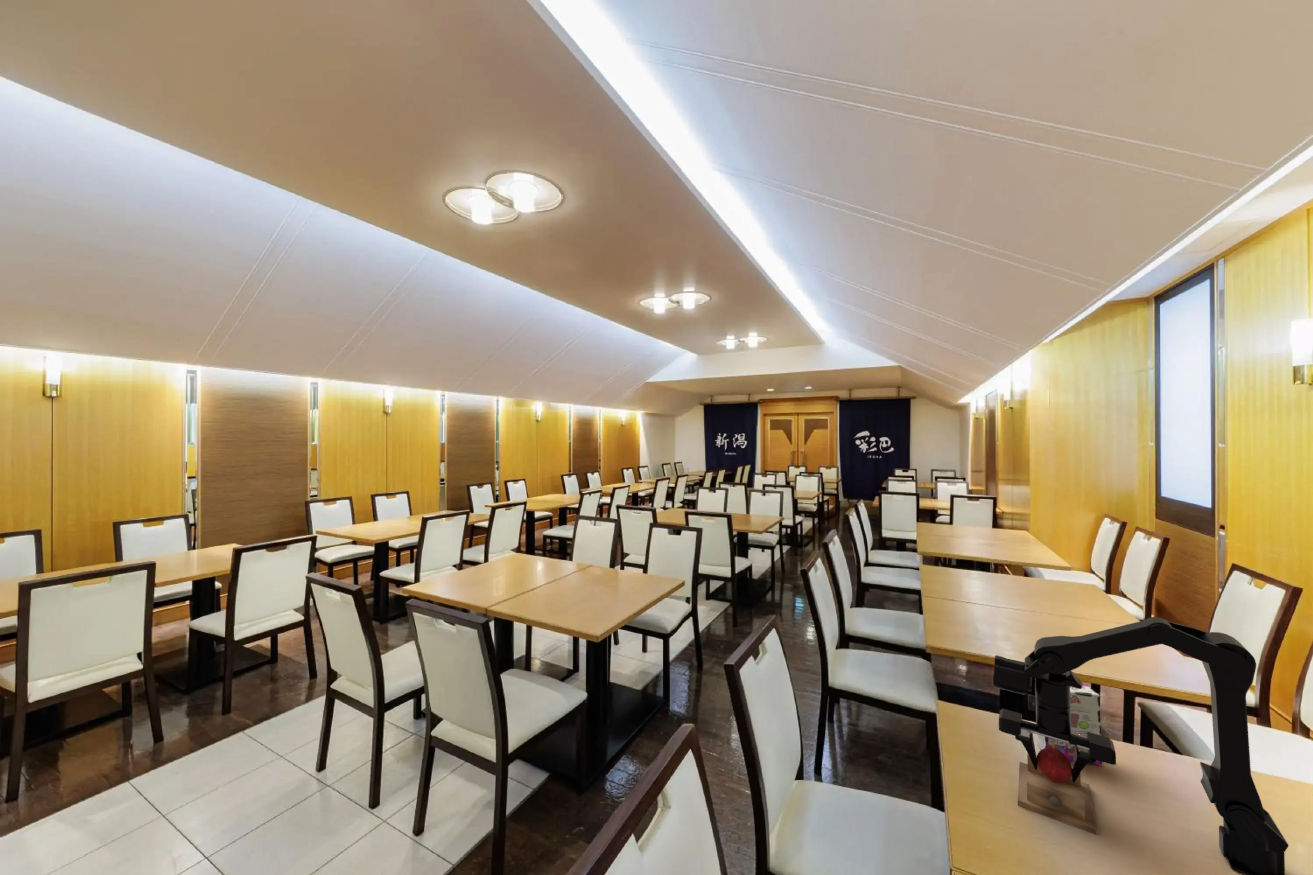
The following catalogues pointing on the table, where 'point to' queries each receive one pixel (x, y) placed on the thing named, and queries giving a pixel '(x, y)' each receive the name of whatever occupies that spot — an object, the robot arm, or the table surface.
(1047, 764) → the onion
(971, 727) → the table surface
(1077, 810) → the cup
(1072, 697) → the candy bar box
